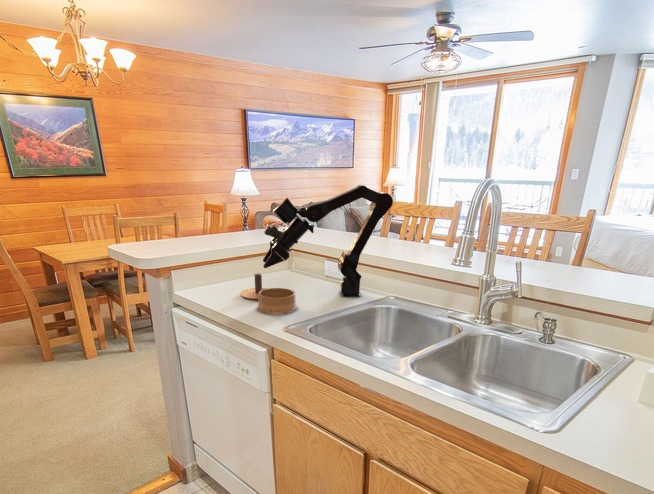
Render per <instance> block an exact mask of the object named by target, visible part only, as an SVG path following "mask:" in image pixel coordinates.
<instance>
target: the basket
mask: <svg viewBox="0 0 654 494" xmlns="http://www.w3.org/2000/svg"><path fill="white" fill-rule="evenodd" d="M257 302H258V310H259V311H260V312H262V313H264V314H268V315H284V314H289V313H292V312H294V311H295V310H296V292H295V290H292V289H289V288H285V287H269V288H268V289H264V290H261V291H259V292H258V299H257Z"/></svg>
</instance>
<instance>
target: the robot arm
mask: <svg viewBox="0 0 654 494" xmlns="http://www.w3.org/2000/svg"><path fill="white" fill-rule="evenodd" d="M360 199H364V200H366V201H369V202H370V205H369V209H368V210H369V211H368V214H367V216H366V218H365V220H364V222H363V224H362V226H361V228H360V229H359V231H358V233H357V235H356V237H355V239H354V241H353V243H352V245H351V247H350V248H349V249H348V250H347V252H345V251H342V252H341V255H340V257H339V258H338V259H337V262H338V263H337V268H338V271H339V272H340V273H341V274H342V276H343V277H342V281H340V294H341V295H342V297H345V298H346V297H349V298H350V297H361V294H360V289H361V279H362V275H361V274H360V272H358V270H357V269H358V265H359V262H360V256H361V254H362V252H363V250H364V249H365V247H366V245H367V243H368V242H369V239H370V238H371V236H372V234H373V232H374V231H375V229H376V227H377V225H378V223H379V222H380V220H382V218H383V217H384V216H385V215H386V214H387V213H388V212H389V211H390V209H391V207H392V206H393V203H394V200H393V197H392V195H391V194H390V193H387V192H384V191H376V190H373V189H371V188H369V187H367V186H366V185H363V184H358V185H357V186H355V187H353V188H351V189H349V190H347V191H344V192H342V193H339V194H337V195H335V196H333V197H330V198H328V199H326V200H321V201H315V202H311V203H308V204H306V206H304V207H298V208H297V207H296V206H295V205H294V204H293V203H292V201H291V200H290V199H289V198H288V197H285V199H284V200H282V201H281V202H280V203H278V204H277V206H276V207H275V208H274V209H273V211H272V212H273V214H275V216H277V217H278V219H279V220H280V221H281V222H282V223H284V224H286V223H288V224H289V225H288V227H286V228H283V229H282V230H281V229H279V228H278V226H275V225H271V224H269V223H267V224H266V227H265V229H264V231H263V232H264V235H266V236H268V237H271V238H270V240H269V248H268V250H267V252H266V254H265V255H264V256H263V259H262V261H263V268H264V269H267V268H270V267H272V266H274V265H275V266H276V265H277V264H280V263H282V262H285V261H286V262H287V260H288V259H289V258H290V251H291V248H292V247H294V245H297V244H298V243H299V241H300V239H301V238H302V237H303V236H304V235H305V234H306V233H307V232H308V231H309V232H310V233H311V234H314V229H315V225H314V224H310V223H309V222H311V223H318V222H319V221H321V220H322V219H324V218H325V217H326V216H328V215H329V214H330V213H331V212H333V211H336V210H337V209H339V208H342V207H344V206H347V205H348V204H351V203H354V202H355V201H358V200H360ZM297 214H298V215H299V216H298V215H297ZM300 217H301V218H300ZM303 218H304V219H303ZM306 219H307V220H308V221H309V222H308V221H307V220H306Z"/></svg>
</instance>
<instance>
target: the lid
mask: <svg viewBox="0 0 654 494" xmlns="http://www.w3.org/2000/svg"><path fill="white" fill-rule="evenodd" d="M262 277H263V275H262V273H254V287H252V288H247V289H243V290H242V291H240V296H241V297H242V298H245V299H249V300H258V292H259V291H261V290H264V289H269V288H267V287H263V279H262Z"/></svg>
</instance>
